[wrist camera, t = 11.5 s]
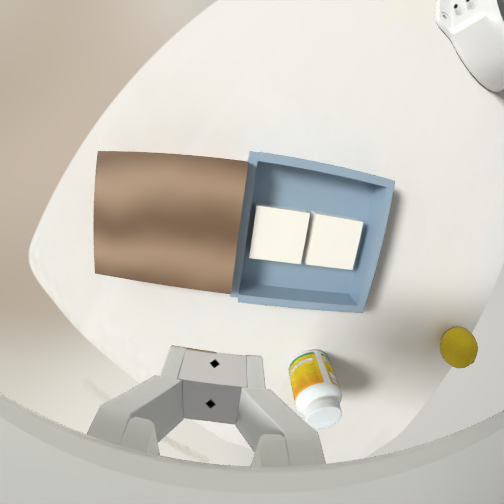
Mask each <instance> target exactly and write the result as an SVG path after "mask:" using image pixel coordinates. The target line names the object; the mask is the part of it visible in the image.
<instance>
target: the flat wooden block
mask: <svg viewBox="0 0 504 504" xmlns="http://www.w3.org/2000/svg"><path fill="white" fill-rule="evenodd" d="M248 163H249V162H246V161H239V160H230V159H222V158H213V157H203V156H192V155H180V154H166V153H148V152H118V151H98V155H97V165H96V177H95V193H94V262H95V273H97V274H102V275H107V276H113V277H119V278H125V279H130V280H136V281H143V282H149V283H155V284H161V285H168V286H175V287H182V288H189V289H196V290H203V291H211V292H218V293H226V294H231V289H232V281H233V273H234V265H235V258H236V250H237V242H238V235H239V227H240V220H241V213H242V205H243V198H244V191H245V184H246V177H247V170H248Z"/></svg>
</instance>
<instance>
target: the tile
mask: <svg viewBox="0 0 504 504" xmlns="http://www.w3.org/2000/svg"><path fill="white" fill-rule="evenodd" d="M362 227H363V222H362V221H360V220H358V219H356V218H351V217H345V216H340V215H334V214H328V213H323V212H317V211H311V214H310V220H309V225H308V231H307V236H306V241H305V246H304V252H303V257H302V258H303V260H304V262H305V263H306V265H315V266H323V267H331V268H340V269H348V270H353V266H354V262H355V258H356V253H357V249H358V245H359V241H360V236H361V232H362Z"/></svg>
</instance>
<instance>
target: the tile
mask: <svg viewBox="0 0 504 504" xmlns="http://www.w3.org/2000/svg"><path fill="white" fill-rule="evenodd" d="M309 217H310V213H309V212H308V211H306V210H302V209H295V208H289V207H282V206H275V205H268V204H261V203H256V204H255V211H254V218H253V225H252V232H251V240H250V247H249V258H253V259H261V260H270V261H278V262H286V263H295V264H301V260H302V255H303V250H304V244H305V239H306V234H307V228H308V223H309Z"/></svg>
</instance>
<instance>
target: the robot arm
mask: <svg viewBox="0 0 504 504" xmlns="http://www.w3.org/2000/svg"><path fill="white" fill-rule="evenodd" d="M435 21H436V23H437V24H438V26H439V27H440V28H441V29H442V31H443V32H444V33H445V34H446V35H447V36H448V37H449V39H450V40H451V42H452V44H453V45H454V47H455V49H456V51H457V53H458V55H459V56H460V58H461V60H462V61H463V63H464V64H465V66H466V67H467V68H468V70H469V71H470V72H471V74H472V75H473V76H474V77H475V78H476V79H477V80H478V81H479V82H480V83H481V84H482V85H483V86H484V87H486V88H487V89H489V90H491V91H493V92H500V91H502V90H503V89H504V0H436V11H435ZM183 418H187V419H195V420H203V421H212V422H220V423H228V424H236V427H237V428H238V430H239V431H240V433H241V434H242V436H243V437H244V438H245V440H246V441H247V443H248V444H249V445H250V447H251V448H252V450H253V451H254V452H255V454H254V457H253V460H252V464H251V466H250V467H247V466H231V465H219V464H209V463H201V462H193V461H187V460H181V459H175V458H170V457H164V456H160V453H159V448H158V442H159V441H160V440H161V439H163V438H164V437H165V436H166V435H167V434H168V433H169V432H170V431H171V430H172V429H174V428H175V427H176V426H177V425H178V424H179V423H180V422H181V421H182V420H183ZM0 504H504V410H503V411H502V412H500V413H498V414H496V415H494V416H492V417H490V418H488V419H486V420H484V421H482V422H480V423H477V424H475V425H473V426H471V427H468V428H466V429H464V430H461V431H459V432H456V433H454V434H451V435H449V436H446V437H443V438H440V439H437V440H434V441H431V442H428V443H425V444H422V445H418V446H415V447H412V448H408V449H405V450H401V451H397V452H393V453H388V454H384V455H380V456H374V457H369V458H364V459H358V460H352V461H345V462H338V463H330V464H326V462H325V458H324V454H323V450H322V446H321V442H320V439H319V435H318V432H317V431H315V430H314V429H313V428H312V427H311V426H310V425H309V424H307V423H306V422H305V421H304V420H303V419H302V418H301V417H300V416H298V415H297V414H296V413H295V412H294V411H293V410H292V409H291V408H290V407H289V406H287V405H286V404H285V403H284V402H283V401H282V400H281V399H280V398H279V397H278V396H277V395H276V394H275V393H274V392H273V391H272V390H271V389H266V387H265V377H264V368H263V359H262V357H261V356H253V355H235V354H226V353H217V352H211V351H205V350H198V349H192V348H186V347H180V346H174V345H172V346H171V347H170V349H169V352H168V354H167V357H166V360H165V362H164V365H163V368H162V371H161V373H160V376H157V375H155V376H153V377H151V378H149V379H148V380H146V381H144V382H142V383H141V384H139V385H137V386H135V387H134V388H132V389H130V390H128V391H127V392H125V393H123V394H121V395H119V396H117V397H116V398H114V399H112V400H110V401H108V402H106V403H104V404H103V405H101V406H100V408H99V410H98V412H97V414H96V416H95V418H94V420H93V422H92V424H91V426H90V428H89V430H88V432H87V434H84V433H81V432H79V431H76V430H74V429H71V428H69V427H66V426H64V425H62V424H59V423H57V422H55V421H52V420H51V419H48V418H46V417H44V416H42V415H40V414H38V413H36V412H34V411H32V410H30V409H28V408H26V407H24V406H23V405H21V404H19V403H17V402H16V401H14V400H12V399H11V398H9V397H7V396H5V395H4V394H2V393H1V392H0Z"/></svg>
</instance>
